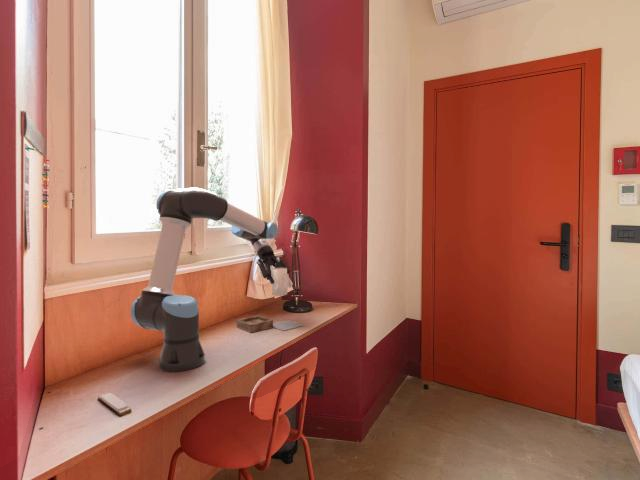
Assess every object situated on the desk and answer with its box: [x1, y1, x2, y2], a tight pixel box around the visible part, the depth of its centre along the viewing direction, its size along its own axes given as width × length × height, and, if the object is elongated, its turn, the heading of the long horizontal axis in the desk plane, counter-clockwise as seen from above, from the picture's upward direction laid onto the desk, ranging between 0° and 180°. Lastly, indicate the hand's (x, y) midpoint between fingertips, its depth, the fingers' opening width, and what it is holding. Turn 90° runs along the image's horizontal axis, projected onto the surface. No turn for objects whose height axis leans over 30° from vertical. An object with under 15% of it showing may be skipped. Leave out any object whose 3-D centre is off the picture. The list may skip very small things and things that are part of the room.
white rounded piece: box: [271, 267, 290, 297], centre depth 176 cm, size 7×10×12 cm
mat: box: [272, 319, 304, 332], centre depth 178 cm, size 12×12×1 cm
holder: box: [236, 314, 274, 334], centre depth 176 cm, size 12×12×4 cm
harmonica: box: [97, 392, 133, 417], centre depth 104 cm, size 15×3×2 cm, turn 50°
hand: (284, 287), depth 175 cm, fingers closed on white rounded piece, 7 cm apart
